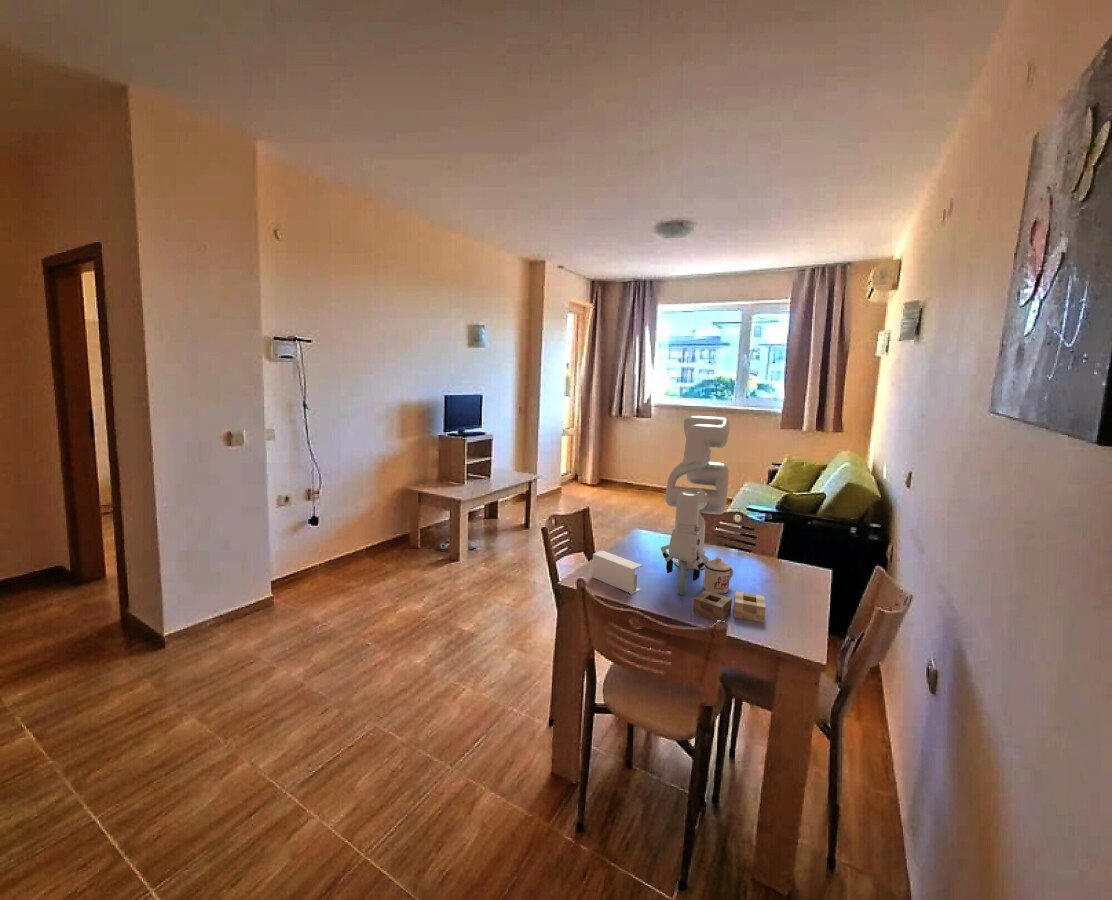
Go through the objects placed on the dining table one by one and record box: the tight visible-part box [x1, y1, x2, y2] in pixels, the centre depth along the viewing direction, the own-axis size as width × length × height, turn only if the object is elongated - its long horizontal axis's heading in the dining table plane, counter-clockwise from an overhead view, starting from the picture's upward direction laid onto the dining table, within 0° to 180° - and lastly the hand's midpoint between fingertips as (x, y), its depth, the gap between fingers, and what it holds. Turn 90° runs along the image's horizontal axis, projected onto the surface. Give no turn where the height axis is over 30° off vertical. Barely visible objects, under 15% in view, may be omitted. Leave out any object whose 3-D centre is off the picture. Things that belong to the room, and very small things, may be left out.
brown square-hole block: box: [692, 589, 733, 622], centre depth 165 cm, size 9×9×5 cm
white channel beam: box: [591, 550, 643, 595], centre depth 186 cm, size 20×6×9 cm, turn 43°
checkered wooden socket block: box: [733, 590, 766, 623], centre depth 166 cm, size 9×9×5 cm
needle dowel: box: [676, 560, 688, 596], centre depth 179 cm, size 3×3×12 cm
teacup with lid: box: [703, 556, 734, 595], centre depth 184 cm, size 12×9×12 cm
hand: (682, 575), depth 178 cm, fingers open, 9 cm apart
